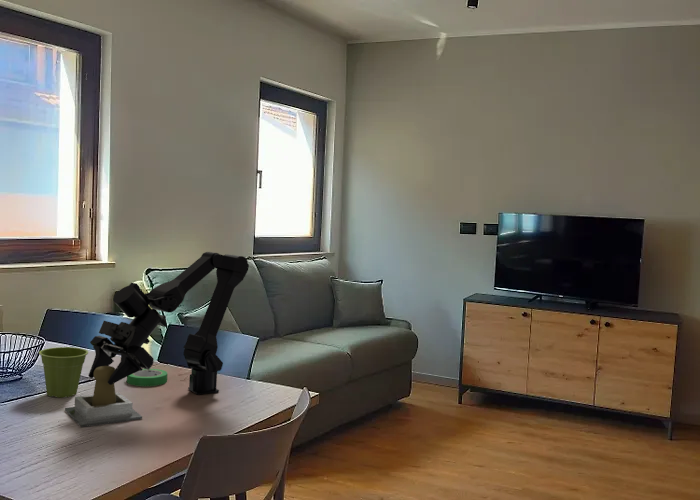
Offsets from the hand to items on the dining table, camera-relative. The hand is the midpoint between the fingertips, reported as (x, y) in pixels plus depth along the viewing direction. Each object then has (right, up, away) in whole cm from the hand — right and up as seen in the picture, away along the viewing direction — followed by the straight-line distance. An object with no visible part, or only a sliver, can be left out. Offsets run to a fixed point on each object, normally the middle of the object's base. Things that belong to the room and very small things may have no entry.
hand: (99, 380), depth 165 cm
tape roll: (+2, -7, +34) cm, 34 cm away
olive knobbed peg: (0, -8, +2) cm, 8 cm away
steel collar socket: (0, -8, +2) cm, 9 cm away
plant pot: (-15, -7, +16) cm, 23 cm away
